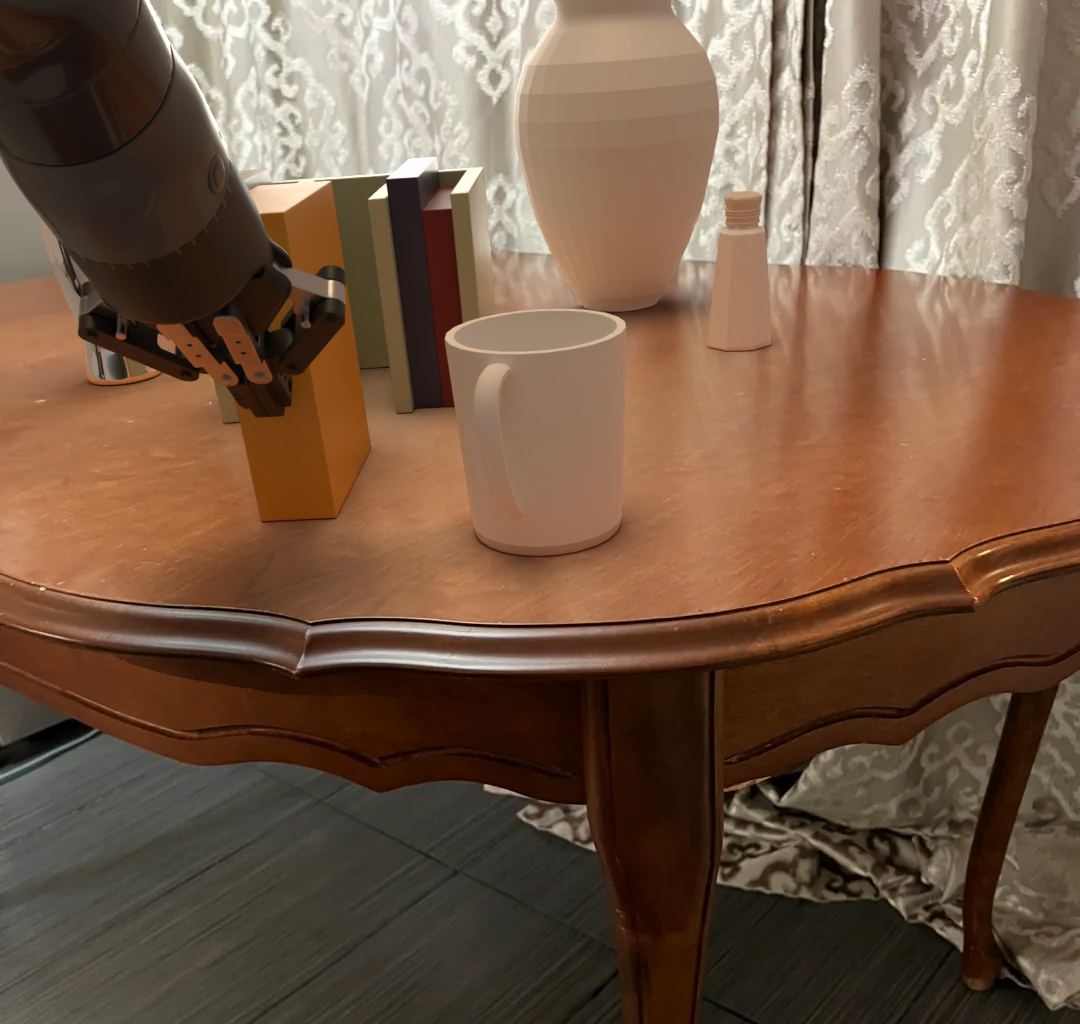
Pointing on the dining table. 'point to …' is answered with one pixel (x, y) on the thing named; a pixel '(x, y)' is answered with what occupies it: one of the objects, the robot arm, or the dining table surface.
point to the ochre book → (308, 378)
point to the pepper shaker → (741, 279)
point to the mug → (541, 426)
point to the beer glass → (99, 361)
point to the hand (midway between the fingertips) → (271, 401)
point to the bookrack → (407, 271)
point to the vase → (616, 145)
